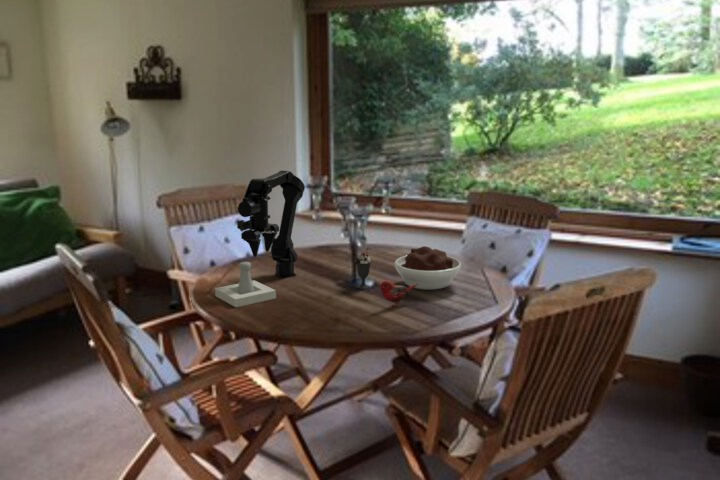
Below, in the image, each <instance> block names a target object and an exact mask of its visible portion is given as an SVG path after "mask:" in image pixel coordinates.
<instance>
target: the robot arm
mask: <svg viewBox="0 0 720 480" xmlns="http://www.w3.org/2000/svg"><path fill="white" fill-rule="evenodd" d="M278 186H280V188H281V189H282V195H283V198H284V204H283V205H284V206H283V211H282V216H281V220H280V221H281V222H280V225H279V224H277V223H269V219H271V215H270V214H269V205H268V204H269V203H268V202H269V200H271V197H270V196H269V194H270V193H271V192H272V191H273V189H274V188H276V187H278ZM305 188H306V185H305V184H304V182H303V180H301V178H300V177H298V176H296V175H294V174H293V172H292V171H291V170H279V171H278V172H276V173H273V174H271V175H269V176H267V177H264V178H252V179H251V180H250V181H249V183H248V185H247V188H246V191H245V193H244V196H243V198H242V199H241V202H240V203H239V204H238V207H237V210H238V211H237V212H238V213H239V215H240V217H243V218H248V217H249V220H244V219H241V220H237V222H236V224H237V226H236V229H238V230H240V232H241V233H240V234H241V235H240V237H241V238H240V239H241V240H243V241H244V242H246V243H247V244H248V245H249V248H250V251H251V253H252V256H253V257H254V258H255V257H257V256H258V253H259V249H260V245H261V241H262V239H261V237H262V238H263V242H264V249H265V252H266V253H267V252H269V251H270V254H271V257H272V261H273V262H276V264H275V273H274V275H275V276H277V277H279V278H282V279H285V278H289V277H295V276H297V273H295V268H294V267H295V266H294V265H295V263H296V262H297V260H298V254H297V253H296V251H295V250H294V242H293V240H292V232H293V227H294V222H295V217H296V212H297V211H296V210H297V205H298V203H299V201H300V200H301V199H302V198H303V195H304V192H305Z"/></svg>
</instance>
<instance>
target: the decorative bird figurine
mask: <svg viewBox="0 0 720 480" xmlns="http://www.w3.org/2000/svg"><path fill="white" fill-rule="evenodd" d="M416 285H418V284H415V285H413V286H404V285H395V284H393V283H392V282H390V281H387V280H384V281H382V283H381V285H380V287H379V290H381V292H382V294H383V295H382V296H383V297H384V299H386V301H388V302H390V303H393V304H392V305H389V306H388V307H389V308H391V307H392V308H395V306H398V305H400V303H399V302H400V301H402V300H403V299H404V298H405V297H406V296H408V293H409V292H410V291H411V290H412V289H415V288H414V287H415V286H416Z"/></svg>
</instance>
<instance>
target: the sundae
mask: <svg viewBox="0 0 720 480" xmlns="http://www.w3.org/2000/svg"><path fill="white" fill-rule="evenodd" d="M368 249H369V248H366V250H365V251H364V252H362V253H361V254H360V255H359V256H357V257H356V256H355V258H354V259H355V260H354V265H356V270H357V276H358V277H359V278H360V279H361V284H358V285H357V286H358V287H357V286H356V288H357V289H360V290H369V289H370V285H368V284H366V278H367V277H369V275H370V270H371V269H370V268H371V263H373V261H372V260H371V258H370V257H369V254H368V253H366V251H368Z"/></svg>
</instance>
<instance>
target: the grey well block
mask: <svg viewBox="0 0 720 480" xmlns="http://www.w3.org/2000/svg"><path fill="white" fill-rule="evenodd" d="M252 283H253V287H254V292H251V293H246V294H241V295H239V294H238V286H239V282H238V283H235V284H230V285H225V286H220V287H215V288H214V291H215V293H214V294H215V297H216V298H218V299H220V300H222V301H223V302H226V303H227V304H228V305H230V306H232V307H235V308H241V307H244V306H249V305H254V304H257V303H261V302H266V301H271V300H275V299H277V292H276V291H277V290H276V289H273V288H271V287H269V286H267V285H265V284H263V283H261V282H259V281H257V280H255V279H254V280H253V279H252Z"/></svg>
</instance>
